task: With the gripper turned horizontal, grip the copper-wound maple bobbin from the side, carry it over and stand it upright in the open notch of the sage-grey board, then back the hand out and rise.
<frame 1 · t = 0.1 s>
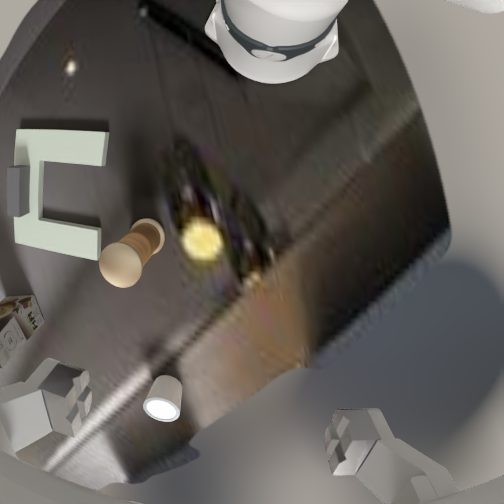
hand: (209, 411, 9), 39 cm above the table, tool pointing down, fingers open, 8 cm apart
shot glass: (168, 384, 59), on the table
notched board: (56, 190, 45), on the table
coffee box: (25, 308, 53), on the table
bobbin: (147, 235, 48), on the table
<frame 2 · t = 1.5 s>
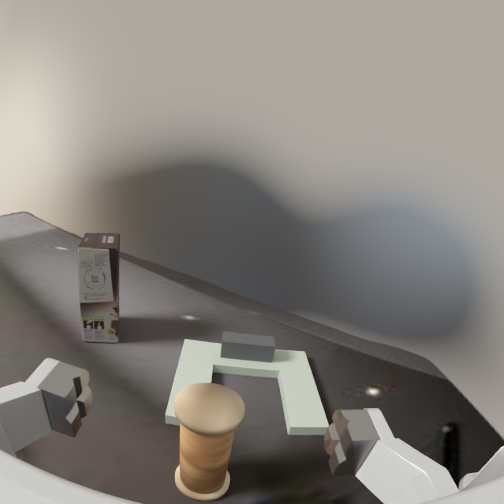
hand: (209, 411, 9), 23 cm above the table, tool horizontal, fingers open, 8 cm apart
notched board: (245, 388, 44), on the table
coffee box: (102, 329, 51), on the table
bobbin: (202, 480, 27), on the table
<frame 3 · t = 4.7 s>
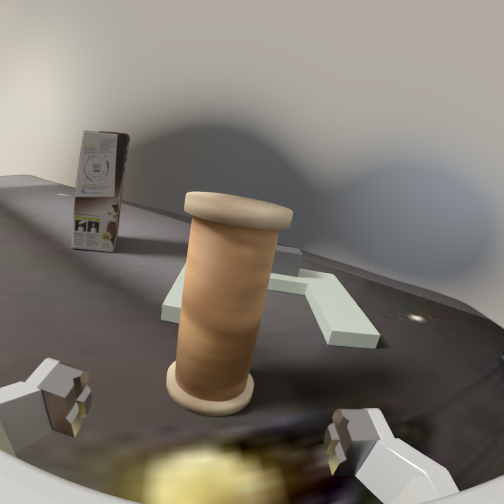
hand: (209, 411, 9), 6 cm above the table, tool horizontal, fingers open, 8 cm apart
notched board: (267, 298, 37), on the table
coffee box: (96, 243, 45), on the table
bobbin: (209, 387, 20), on the table
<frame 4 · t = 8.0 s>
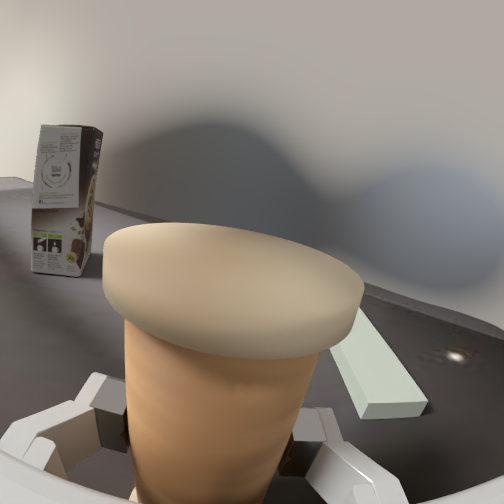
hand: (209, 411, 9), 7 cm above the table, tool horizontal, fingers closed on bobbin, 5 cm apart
notched board: (275, 345, 27), on the table
coffee box: (63, 263, 35), on the table
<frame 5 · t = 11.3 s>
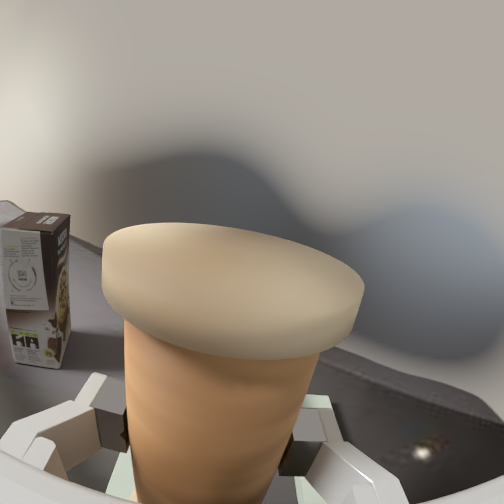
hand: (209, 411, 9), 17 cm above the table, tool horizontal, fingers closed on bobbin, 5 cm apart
notched board: (238, 457, 25), on the table
coffee box: (45, 347, 33), on the table
when the fingers open (8 cm above the table, at t = 14.8 s): bobbin drops 1 cm, on the table.
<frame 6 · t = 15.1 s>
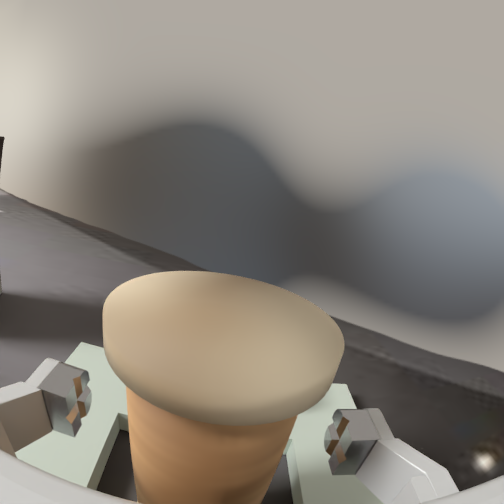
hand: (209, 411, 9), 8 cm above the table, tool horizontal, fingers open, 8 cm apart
notched board: (197, 485, 13), on the table
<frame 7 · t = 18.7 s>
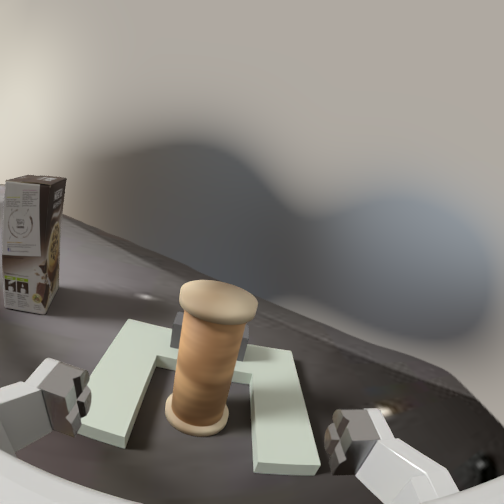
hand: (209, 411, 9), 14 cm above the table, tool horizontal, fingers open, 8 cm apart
notched board: (199, 394, 29), on the table
coffee box: (33, 298, 37), on the table
bobbin: (196, 414, 26), on the table
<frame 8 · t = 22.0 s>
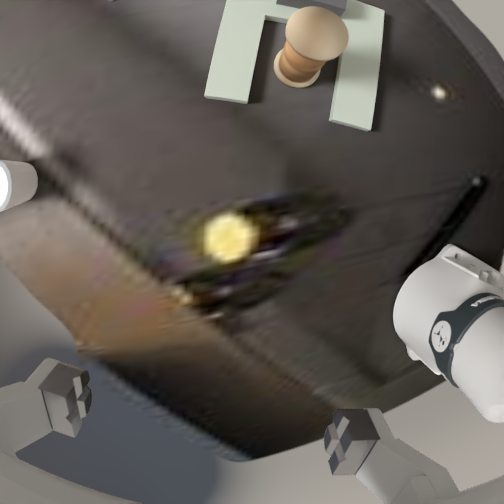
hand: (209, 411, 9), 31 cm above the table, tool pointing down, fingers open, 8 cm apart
shot glass: (24, 181, 37), on the table
notched board: (300, 46, 34), on the table
bobbin: (296, 67, 34), on the table
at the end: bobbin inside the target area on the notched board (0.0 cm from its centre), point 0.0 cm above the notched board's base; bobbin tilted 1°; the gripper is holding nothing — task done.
